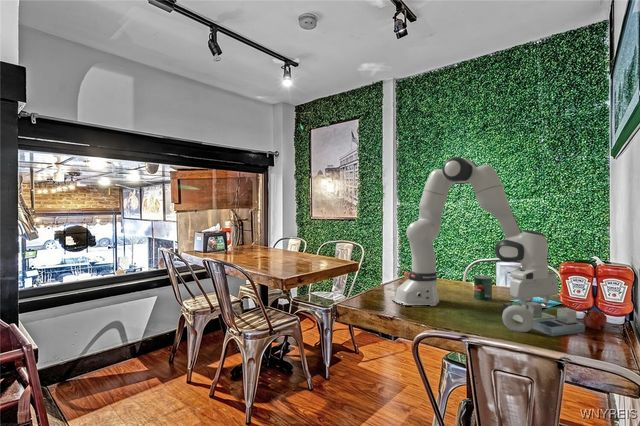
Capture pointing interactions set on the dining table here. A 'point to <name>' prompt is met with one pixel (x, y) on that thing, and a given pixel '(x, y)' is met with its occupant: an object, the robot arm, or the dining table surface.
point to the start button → (516, 303)
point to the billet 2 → (566, 316)
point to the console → (508, 305)
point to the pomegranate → (595, 319)
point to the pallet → (557, 327)
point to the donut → (521, 311)
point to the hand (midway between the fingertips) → (534, 307)
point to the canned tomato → (483, 288)
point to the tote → (544, 317)
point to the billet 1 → (535, 309)
